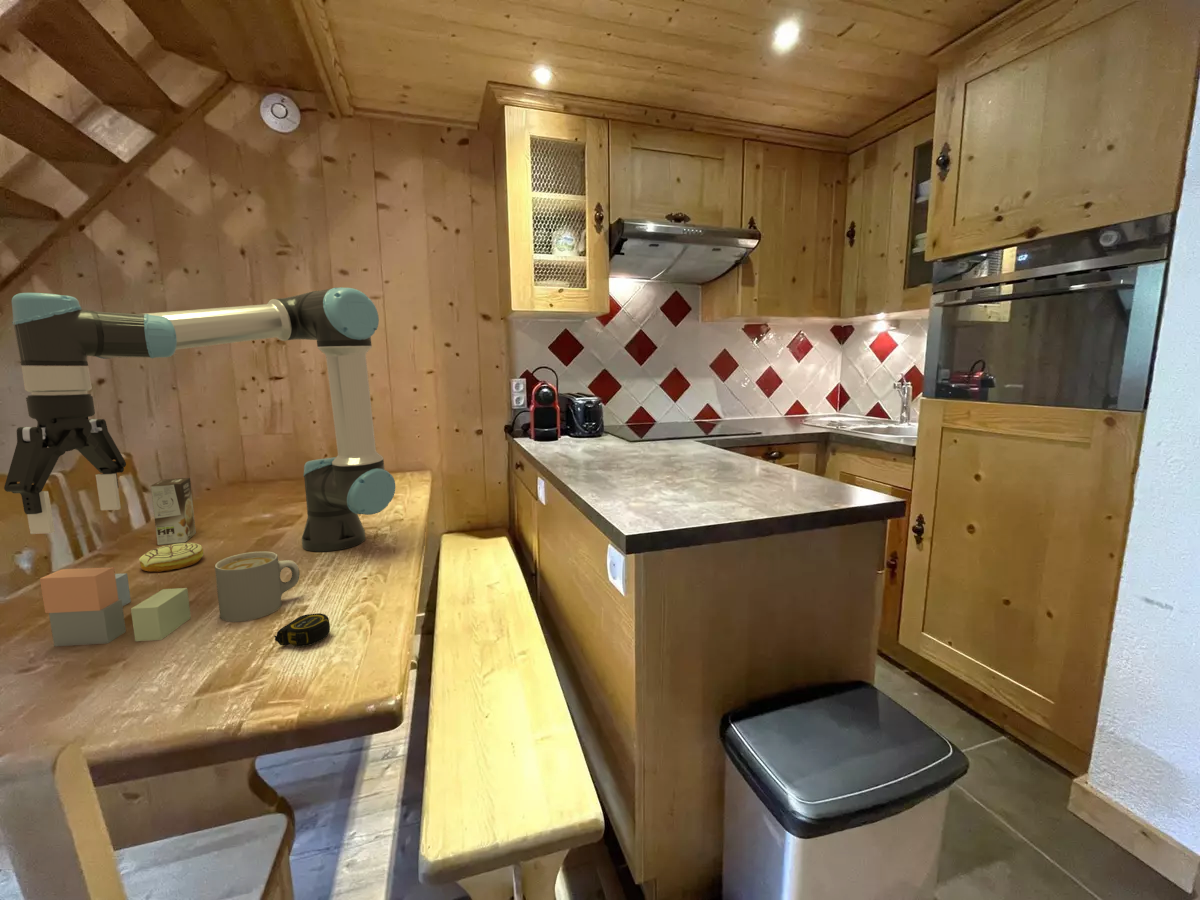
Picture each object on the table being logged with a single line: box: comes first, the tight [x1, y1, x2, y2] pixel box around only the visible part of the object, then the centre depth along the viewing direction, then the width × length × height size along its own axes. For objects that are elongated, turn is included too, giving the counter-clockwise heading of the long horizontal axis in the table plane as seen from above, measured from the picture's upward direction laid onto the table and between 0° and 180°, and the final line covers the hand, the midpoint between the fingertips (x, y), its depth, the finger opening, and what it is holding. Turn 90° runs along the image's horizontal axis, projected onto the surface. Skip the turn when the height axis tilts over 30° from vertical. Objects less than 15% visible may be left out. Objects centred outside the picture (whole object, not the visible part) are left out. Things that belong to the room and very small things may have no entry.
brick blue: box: [115, 573, 132, 607], centre depth 100 cm, size 8×4×6 cm, turn 98°
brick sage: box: [130, 587, 192, 642], centre depth 92 cm, size 8×4×6 cm, turn 8°
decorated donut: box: [138, 542, 204, 573], centre depth 123 cm, size 11×12×4 cm
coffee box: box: [150, 477, 197, 546], centre depth 140 cm, size 9×6×16 cm
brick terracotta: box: [39, 566, 118, 614], centre depth 87 cm, size 8×4×6 cm, turn 98°
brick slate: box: [48, 600, 127, 647], centre depth 88 cm, size 8×4×6 cm, turn 98°
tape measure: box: [273, 612, 331, 648], centre depth 89 cm, size 7×7×4 cm
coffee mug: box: [214, 550, 300, 623], centre depth 100 cm, size 13×10×10 cm
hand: (79, 520), depth 87 cm, fingers open, 13 cm apart
